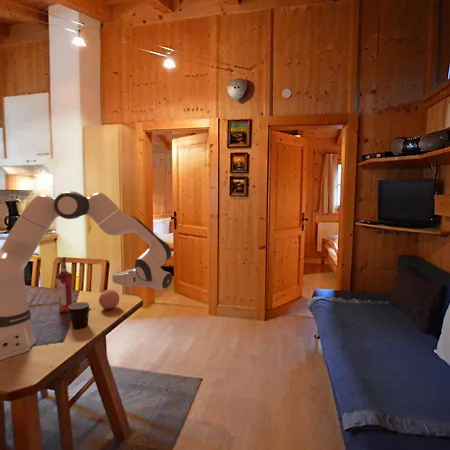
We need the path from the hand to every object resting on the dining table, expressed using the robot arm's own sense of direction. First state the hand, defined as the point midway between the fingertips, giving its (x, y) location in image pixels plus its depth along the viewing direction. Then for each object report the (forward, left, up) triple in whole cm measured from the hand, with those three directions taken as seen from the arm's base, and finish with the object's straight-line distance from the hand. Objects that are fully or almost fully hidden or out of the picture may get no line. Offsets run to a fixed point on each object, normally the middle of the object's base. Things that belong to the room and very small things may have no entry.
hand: (121, 271), depth 160 cm
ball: (+2, +13, -17) cm, 22 cm away
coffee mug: (-18, +7, -22) cm, 29 cm away
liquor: (-12, +29, -22) cm, 39 cm away
